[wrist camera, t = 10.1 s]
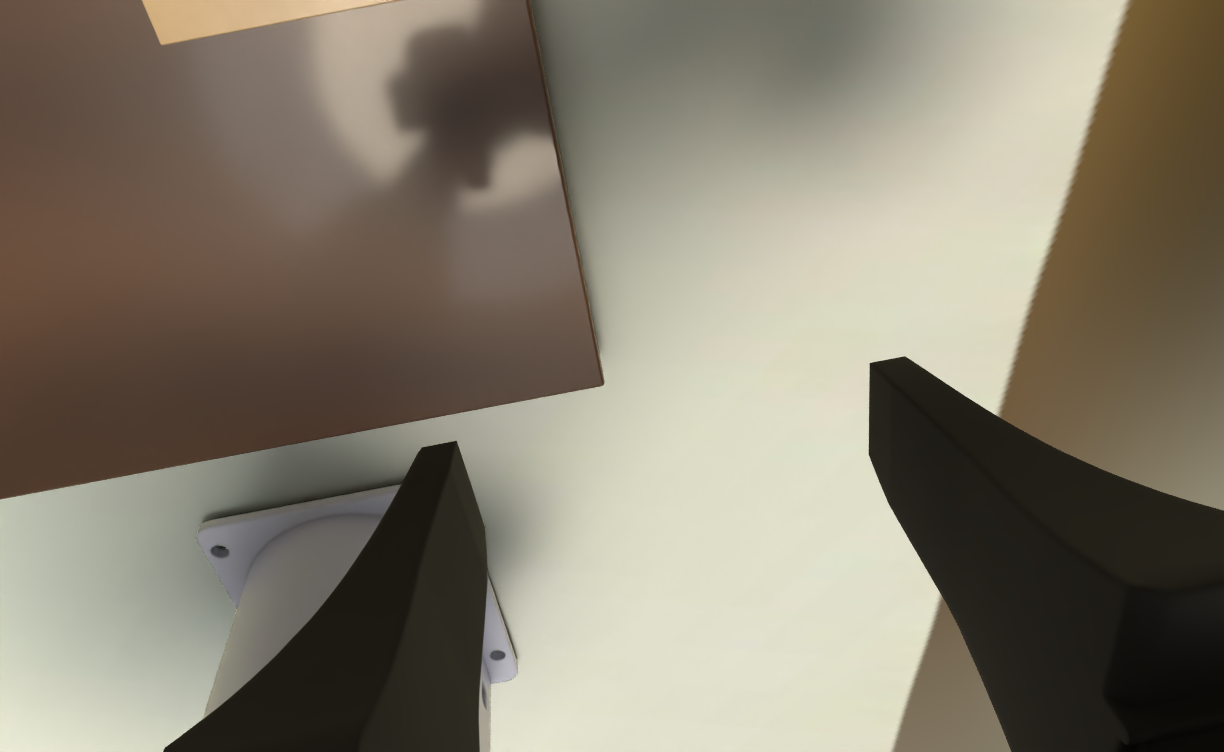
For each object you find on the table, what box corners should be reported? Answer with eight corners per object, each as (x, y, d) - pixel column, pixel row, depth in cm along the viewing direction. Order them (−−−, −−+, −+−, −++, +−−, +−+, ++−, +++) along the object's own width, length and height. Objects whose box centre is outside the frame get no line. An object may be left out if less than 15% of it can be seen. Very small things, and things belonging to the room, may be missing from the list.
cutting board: (600, 357, 26) (606, 393, 24) (-21, 474, 26) (-53, 517, 24) (431, -507, 15) (424, -538, 14) (-599, -312, 15) (-716, -321, 14)
